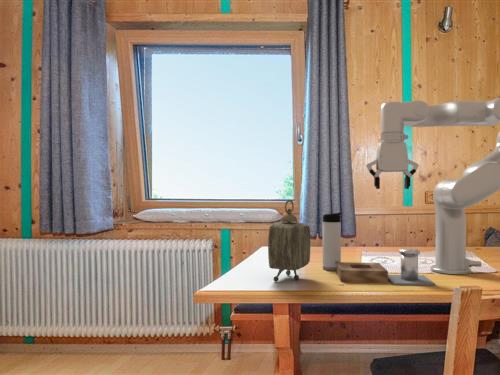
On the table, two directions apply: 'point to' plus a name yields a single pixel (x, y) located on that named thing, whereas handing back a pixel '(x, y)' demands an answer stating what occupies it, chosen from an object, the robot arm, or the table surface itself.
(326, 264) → the travel mug
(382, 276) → the brown wooden square slab
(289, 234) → the tabletop clock
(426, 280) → the mat
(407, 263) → the end cap
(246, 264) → the table surface
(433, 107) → the robot arm
